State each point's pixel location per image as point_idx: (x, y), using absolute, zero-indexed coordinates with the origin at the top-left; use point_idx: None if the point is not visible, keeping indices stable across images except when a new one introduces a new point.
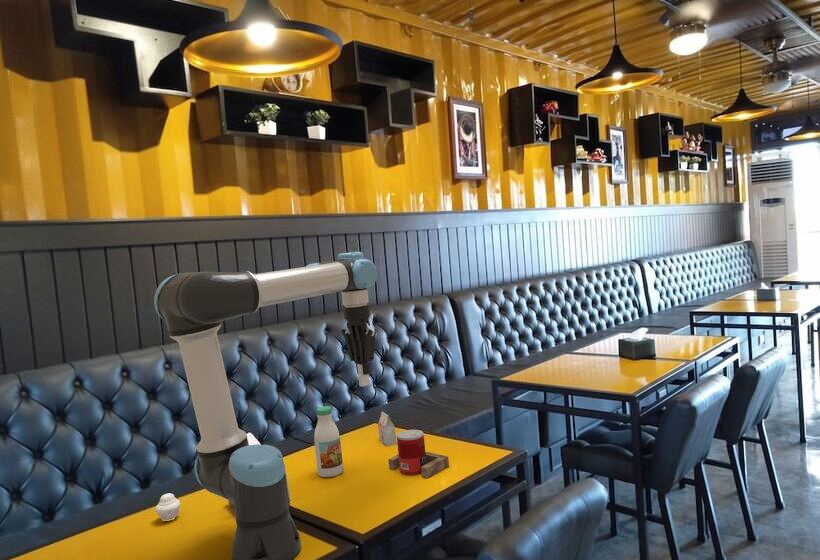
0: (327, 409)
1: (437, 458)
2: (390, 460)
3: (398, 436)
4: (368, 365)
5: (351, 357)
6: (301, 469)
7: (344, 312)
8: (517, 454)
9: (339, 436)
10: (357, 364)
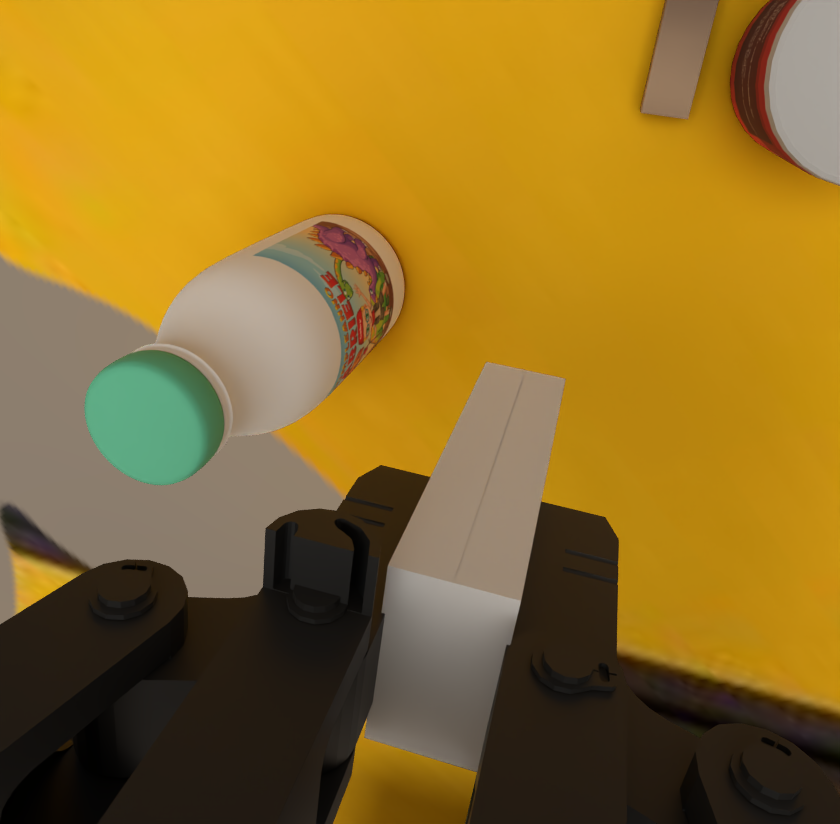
0: (200, 450)
1: None
2: (660, 114)
3: (817, 168)
4: (614, 641)
5: (109, 796)
6: (168, 290)
7: None
8: None
9: (323, 300)
10: (378, 737)
